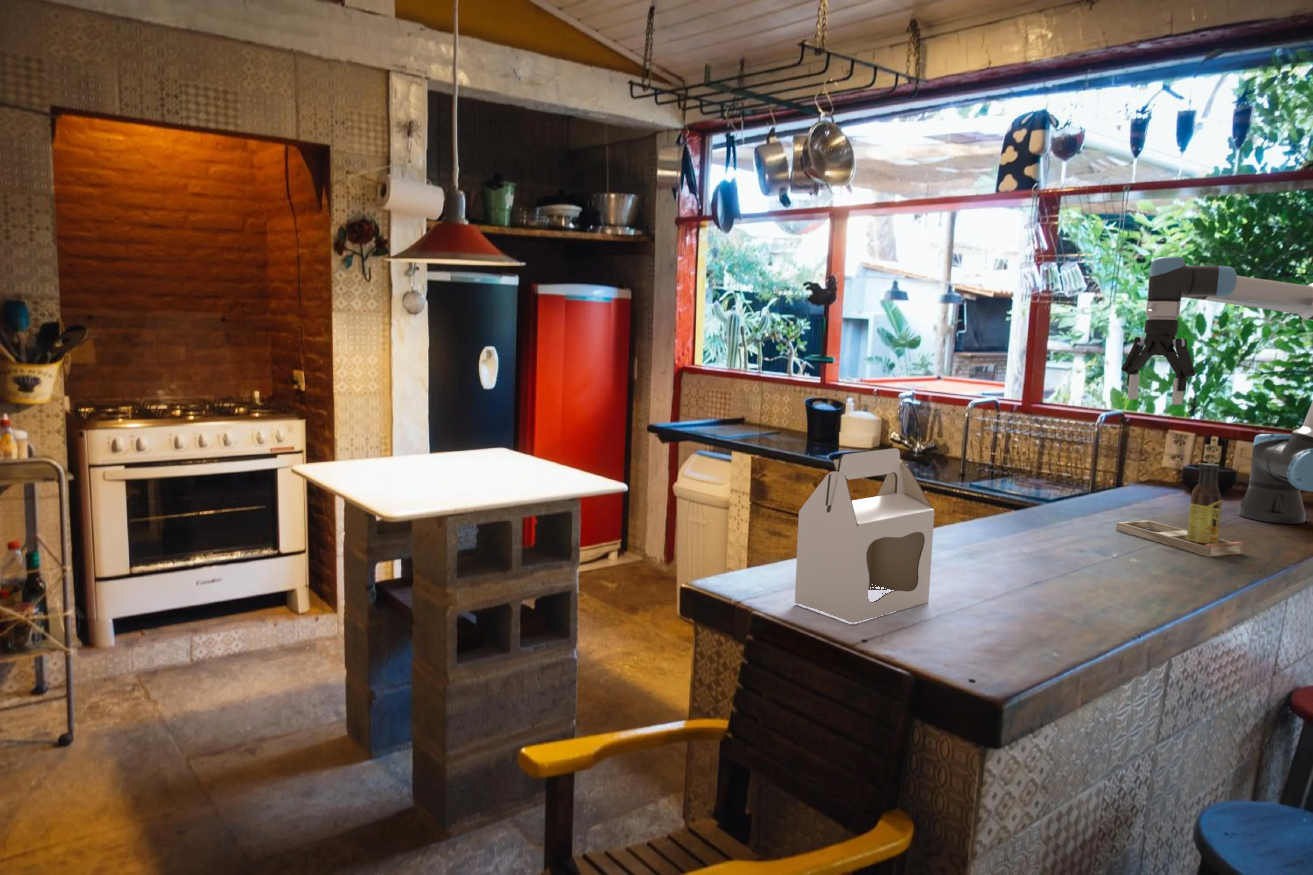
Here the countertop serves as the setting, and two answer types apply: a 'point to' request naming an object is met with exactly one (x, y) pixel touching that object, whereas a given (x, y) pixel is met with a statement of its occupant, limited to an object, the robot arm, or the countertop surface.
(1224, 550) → the bottle rack
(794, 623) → the countertop surface
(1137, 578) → the countertop surface
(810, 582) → the gable box
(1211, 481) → the sauce bottle
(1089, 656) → the countertop surface
